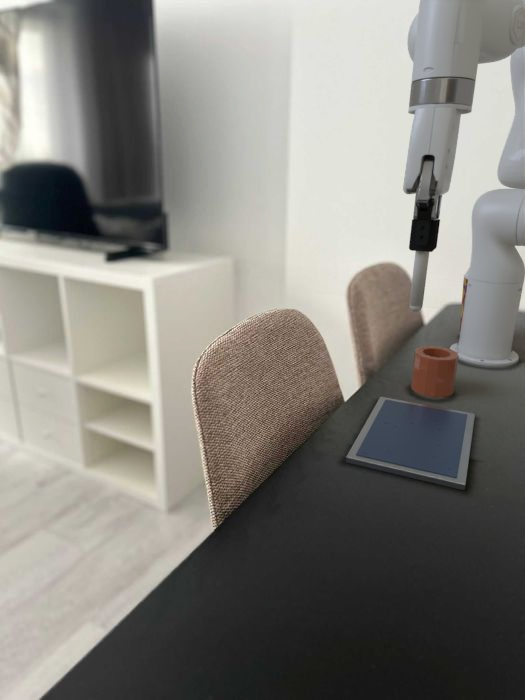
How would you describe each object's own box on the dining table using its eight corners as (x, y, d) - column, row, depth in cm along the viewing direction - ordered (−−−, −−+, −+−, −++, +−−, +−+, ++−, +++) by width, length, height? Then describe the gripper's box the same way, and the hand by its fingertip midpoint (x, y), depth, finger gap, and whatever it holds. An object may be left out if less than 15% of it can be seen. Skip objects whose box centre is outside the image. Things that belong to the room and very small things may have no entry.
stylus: (409, 309, 73) (422, 204, 69) (422, 310, 72) (435, 205, 68) (407, 312, 72) (419, 205, 67) (420, 313, 71) (434, 205, 66)
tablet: (379, 400, 81) (380, 395, 81) (474, 418, 76) (475, 412, 76) (345, 462, 64) (345, 456, 64) (464, 490, 59) (465, 484, 58)
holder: (413, 381, 89) (418, 343, 86) (454, 388, 86) (460, 349, 84) (407, 396, 83) (411, 355, 81) (450, 404, 80) (457, 362, 78)
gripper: (419, 108, 72) (404, 242, 78) (398, 91, 58) (382, 254, 64) (476, 106, 69) (456, 245, 75) (469, 88, 55) (445, 259, 61)
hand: (422, 248), depth 69 cm, fingers closed on stylus, 1 cm apart
